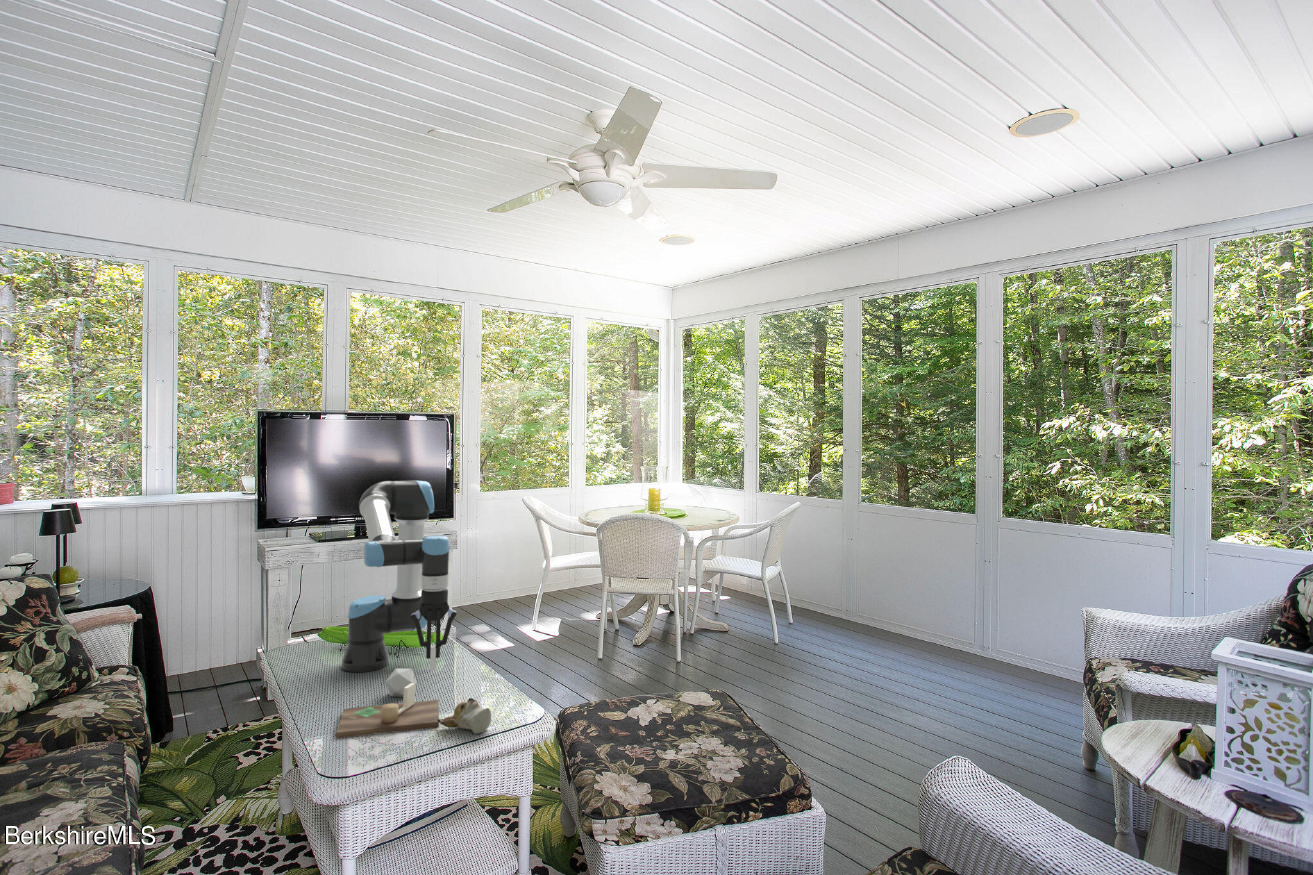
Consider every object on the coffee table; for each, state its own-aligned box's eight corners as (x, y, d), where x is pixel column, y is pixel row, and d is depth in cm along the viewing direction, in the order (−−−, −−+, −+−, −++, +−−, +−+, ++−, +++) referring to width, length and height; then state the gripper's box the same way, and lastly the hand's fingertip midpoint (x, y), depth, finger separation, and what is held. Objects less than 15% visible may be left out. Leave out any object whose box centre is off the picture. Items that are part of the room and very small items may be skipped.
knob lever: (406, 702, 196) (406, 682, 196) (419, 704, 195) (420, 683, 195) (377, 721, 182) (378, 700, 182) (392, 723, 181) (392, 701, 181)
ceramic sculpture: (474, 708, 176) (435, 699, 184) (474, 741, 176) (435, 731, 183) (502, 696, 185) (464, 688, 193) (502, 727, 185) (464, 718, 193)
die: (397, 704, 200) (418, 676, 203) (375, 688, 202) (396, 660, 205) (406, 704, 208) (426, 676, 211) (385, 688, 210) (405, 661, 213)
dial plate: (343, 713, 191) (344, 708, 191) (438, 704, 200) (438, 699, 200) (336, 738, 176) (336, 732, 176) (438, 726, 184) (438, 721, 184)
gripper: (410, 592, 190) (408, 675, 189) (458, 590, 194) (456, 671, 193) (411, 587, 197) (409, 666, 196) (457, 585, 201) (455, 663, 201)
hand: (432, 668), depth 195 cm, fingers closed
